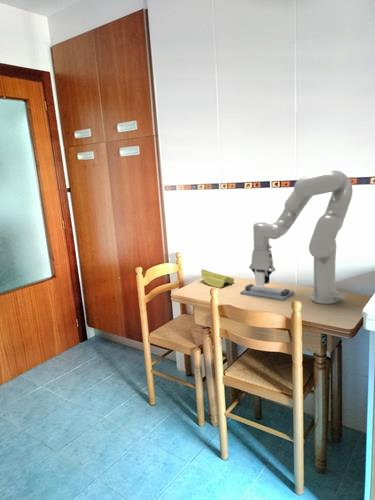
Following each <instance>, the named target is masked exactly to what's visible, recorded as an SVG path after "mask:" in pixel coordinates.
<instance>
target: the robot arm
mask: <svg viewBox="0 0 375 500" xmlns="http://www.w3.org/2000/svg"><path fill="white" fill-rule="evenodd" d="M328 193H331V196H330V198H329V201H328V204H327V207H326V209H325V212H324V214H323V215H322V216H320V217H319V218H318V220H317V221H316V225H315V227H314V230H313V233H312V234H311V238H310V241H309V244H308V251H309V253H310V255H311V256H312V257H313V294H311V296H310V300H311V302H314V303H315V304H322V305H331V304H336V303H338V302H339V300H345V295H344V294H343V293H339V292H338V289H336V257H337V242H336V238H337V235H338V233H339V231H340V230H341V229H342V227H343V224H344V221H345V218H346V216H347V213H348V209H349V206H350V203H351V201H352V197H353V184H352V182H351V179H350V178H349V177H348V176H347V174H345V173H344V172H342V171H340V170H331V171H326V172H323V173H319V174H316V175H314V174H313V175H311V176H303V177H301V178H299V179H297V180H296V181H295V183H294V185H293V191H292V192H291V194H290V195H289V196H288V198H287V199H286V200H285V202H284V209H283V211H282V212H281V214H280V215H279V217H278V218H277V219H276V221H275V222H273V223H270V224H269V223H267V222H256V223H254V224H253V225H252V226H253V229H252V231H253V250H252V254H251V263H250V265H249V266H248V268H249V269H250V271H252V272H253V274H254V275H255V272H257V271H258V270H265V274H266V276H265V284H266V285H267V283H269V284H270V275H272V273H274V272H275V271H276V268H275V266H274V260H273V254H272V250H271V249H272V246H271V245H270V240H277V239H280V238H281V237H282V236H284V235H286V234H287V232H288V231H289V230H290V229H291V227H292V226H293V225H294V223H295V222H296V220H297V219H298V218H299V216H300V215H301V212H302V211H303V209H304V208H305V207H306V205H307V204H308V203H309V202H310V201H311V199H312V197H314V196H317V195H323V194H328ZM265 284H264V285H265Z"/></svg>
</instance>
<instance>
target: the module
mask: <svg viewBox="0 0 375 500" xmlns="http://www.w3.org/2000/svg"><path fill="white" fill-rule="evenodd" d="M254 276H255V277H254V278H255V286H257V287H265V276H266V274H265V270H258V271H257V272H255V274H254ZM267 284H270V282H269V283H267ZM267 284H266V285H267Z"/></svg>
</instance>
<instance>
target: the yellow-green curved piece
mask: <svg viewBox="0 0 375 500" xmlns="http://www.w3.org/2000/svg"><path fill="white" fill-rule="evenodd" d="M200 273H201V277H202V280H203V281H204V282H205V283H206V285H209V286H212V287H215V288H219V289H221V288H223V287H224V285H225V283H227V284H231V285H233V283H234V281H235V278H233V277H229V276H226V275H223V274H218V273H215V272H213V271H212V272H211V271H209V270H206V269H204V268H201V270H200Z"/></svg>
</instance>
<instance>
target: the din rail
mask: <svg viewBox="0 0 375 500" xmlns="http://www.w3.org/2000/svg"><path fill="white" fill-rule="evenodd" d="M264 287H265V286H264ZM264 287H262V286H256V285H254V284H253V283H249V284H247V285H246V286H245V287H244V290H246V291H249V290H250V291H256V292H263V293H270V294H276V295H281V296H286V295H288V294H289V291H290V289H287V288H284V289H279V290H278V289H277V288H272V287H271V288H272V289H271V288H270V287H265V288H264Z"/></svg>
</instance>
